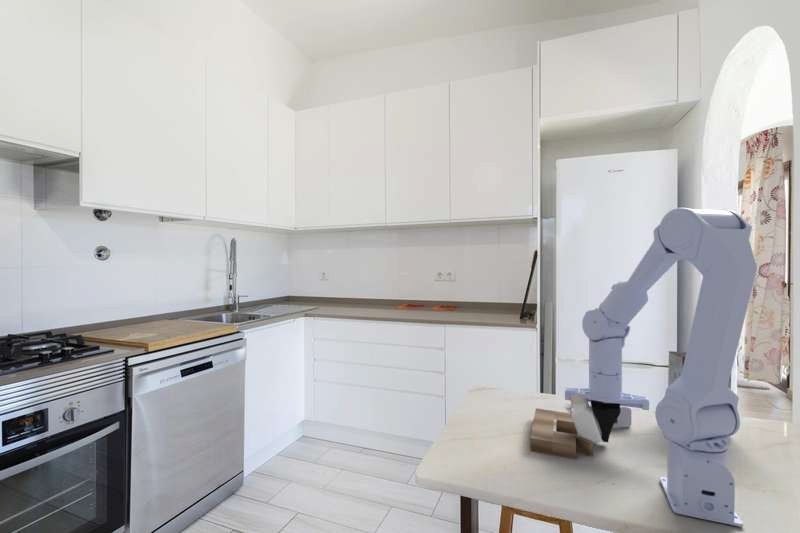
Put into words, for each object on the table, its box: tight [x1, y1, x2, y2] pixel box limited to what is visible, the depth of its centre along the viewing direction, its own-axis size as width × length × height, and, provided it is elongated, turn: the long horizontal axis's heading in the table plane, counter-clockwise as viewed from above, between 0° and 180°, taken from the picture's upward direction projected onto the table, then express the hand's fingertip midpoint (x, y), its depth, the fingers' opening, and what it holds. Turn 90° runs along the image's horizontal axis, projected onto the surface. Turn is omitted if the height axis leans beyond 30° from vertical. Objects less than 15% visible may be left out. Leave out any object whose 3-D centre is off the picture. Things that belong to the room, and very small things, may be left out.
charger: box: [570, 402, 632, 429], centre depth 92 cm, size 5×9×15 cm
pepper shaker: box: [569, 390, 602, 444], centre depth 78 cm, size 4×4×10 cm
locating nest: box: [529, 408, 594, 460], centre depth 79 cm, size 16×11×2 cm
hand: (604, 440), depth 76 cm, fingers closed
